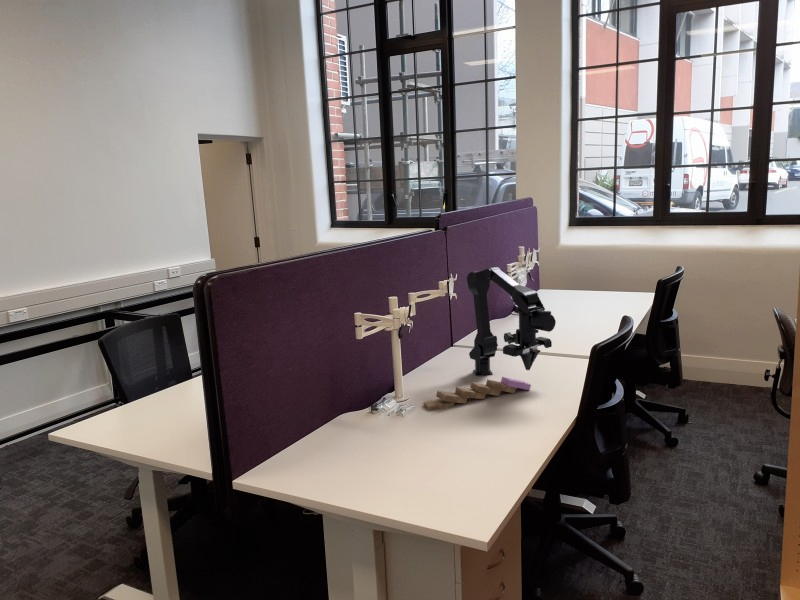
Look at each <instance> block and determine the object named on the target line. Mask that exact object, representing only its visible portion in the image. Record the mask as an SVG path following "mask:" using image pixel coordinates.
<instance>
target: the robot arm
mask: <svg viewBox="0 0 800 600" xmlns="http://www.w3.org/2000/svg"><path fill="white" fill-rule="evenodd" d="M491 281H492V282H493V283H495V284H496V285H497V286H499V287H500V288H501V289H502V290H503V291H504V292H506V293H507V294H508V295H510V297H511V300H512V302H513V303H514V304H515V305H516V306H517V308H516V309H515V310H514V311H513V312H514V314H518V328H517V329H516V331H515V333H511V332H509V331H508V332H505V333H503V341H504V342H505V343H508V344H506V345H504V346H503V347H502V354H503V355H506V356H511V357H515V358H516V357H518V356H519V357H520V358H521V360H522V363H523V365H524V368H525V369H524V370H526V371H530V370H531V369H532V366H533V364H534V362H535V361H536V358H537V357H538V355H539V353H541V350H540V349H539V347H540V346H543V347H544V348H545V349H549V348H553V347H552V344H553V342H552V340H551V338H548V337H543V336H538V337H537V334H538V333H539V330H540V331H543V332H547V333H548V332H549V333H550V332H552V331H553V330H554V329H555V327H556V319H555V317H554V315H553V314H552V311H551V310H546V308H545V306H544V304H543V302H542V300H541V299H540V297H539V294H538V292H537V291H536V290H535V289H533V288H530V287H526V286H523V285H521V284H520V283H518V282H516V281H515V280H514V279H513V278H511V276H509V275H508V274H506V273H505V272H503V271H502V270H501V268H500V267H498V266H491V267H487V268H485V269H482V270H475V271H471V272H470V271H469V273H468V275H466V282H467V287H468V290H469V291H470V292H471V294H472V295H473V303H474V312H475V313H474V314H475V322H476V334H475V337H474V340H473V343H474V344H473V345H474V346H473V347H472V349H471V350H470V352H469V353H468V355H469V358H470V359H471V360H474V369H473V370H472V372H473V374H474V375H475V376H477V377H479V376H480V377H481V376H492V375H493V372H492V370H491V359H490V358H494V357H495V356H496V353H497V351H498V347H499V344H498V337H497V335H494V334H493V332H492V331H491V323H490V313H489V302H488V291H489V289H490V286H491Z"/></svg>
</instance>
